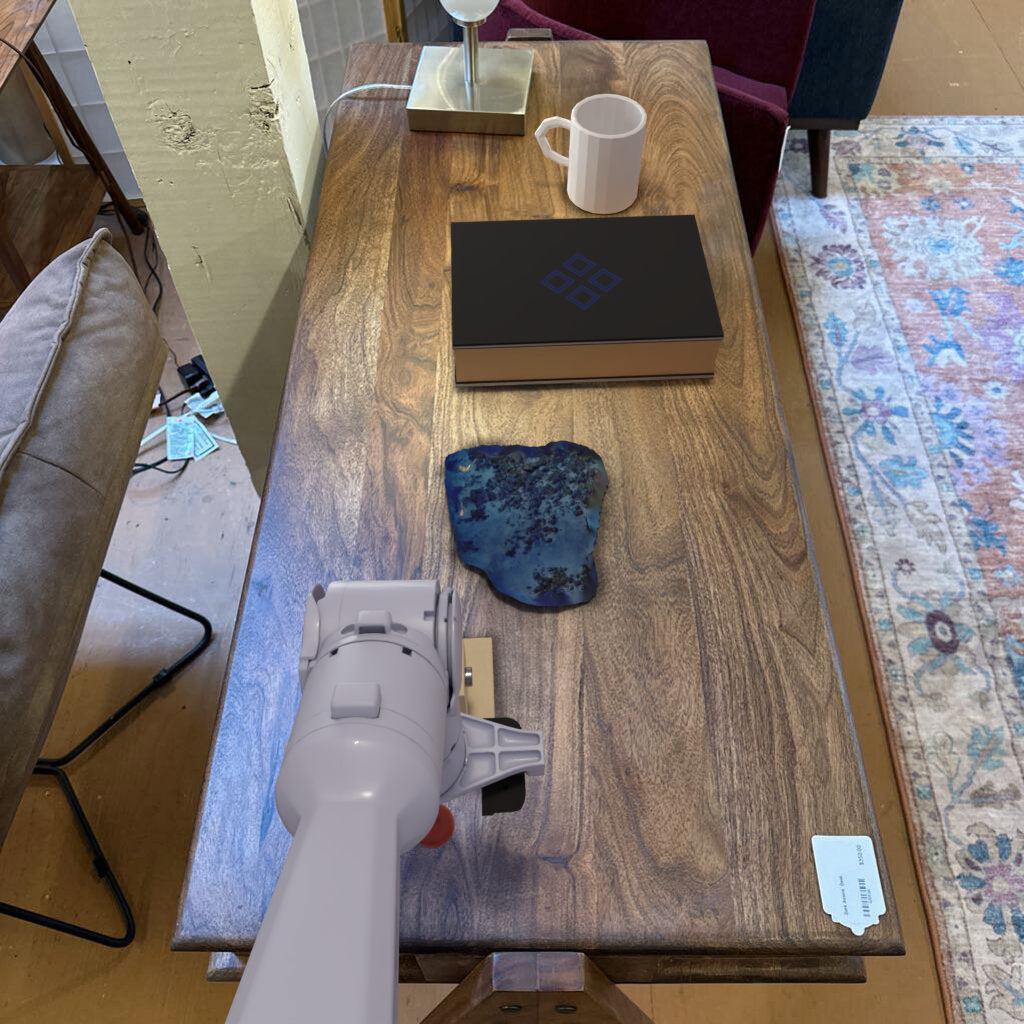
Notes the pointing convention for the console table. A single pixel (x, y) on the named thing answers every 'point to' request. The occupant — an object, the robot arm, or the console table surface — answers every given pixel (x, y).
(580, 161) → the mug
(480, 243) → the book
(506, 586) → the rock
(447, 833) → the lever
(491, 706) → the bracket
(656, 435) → the console table surface
